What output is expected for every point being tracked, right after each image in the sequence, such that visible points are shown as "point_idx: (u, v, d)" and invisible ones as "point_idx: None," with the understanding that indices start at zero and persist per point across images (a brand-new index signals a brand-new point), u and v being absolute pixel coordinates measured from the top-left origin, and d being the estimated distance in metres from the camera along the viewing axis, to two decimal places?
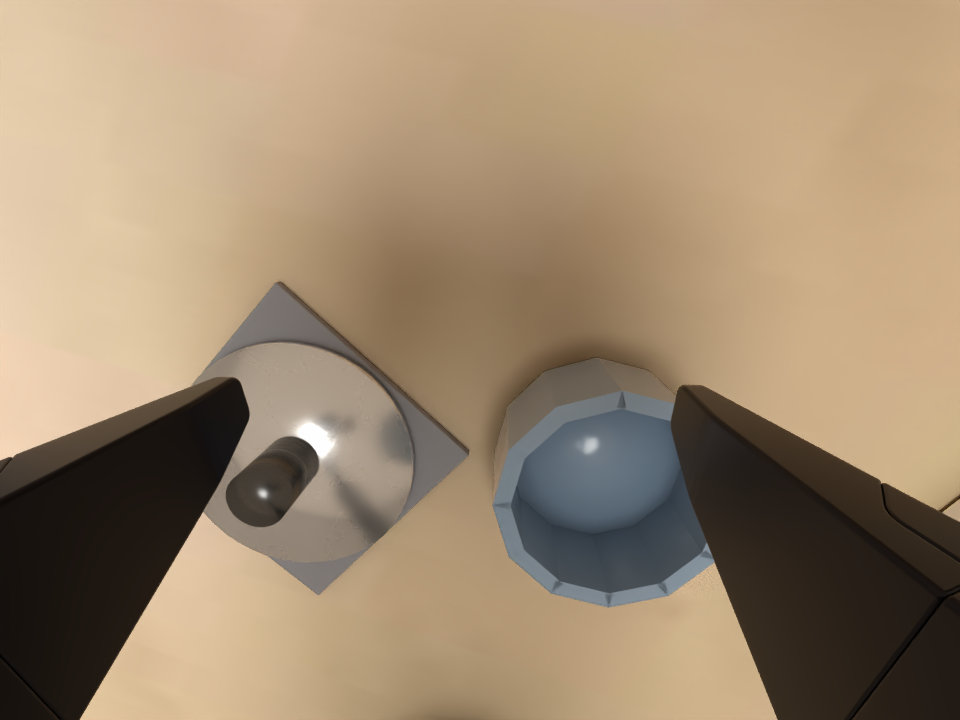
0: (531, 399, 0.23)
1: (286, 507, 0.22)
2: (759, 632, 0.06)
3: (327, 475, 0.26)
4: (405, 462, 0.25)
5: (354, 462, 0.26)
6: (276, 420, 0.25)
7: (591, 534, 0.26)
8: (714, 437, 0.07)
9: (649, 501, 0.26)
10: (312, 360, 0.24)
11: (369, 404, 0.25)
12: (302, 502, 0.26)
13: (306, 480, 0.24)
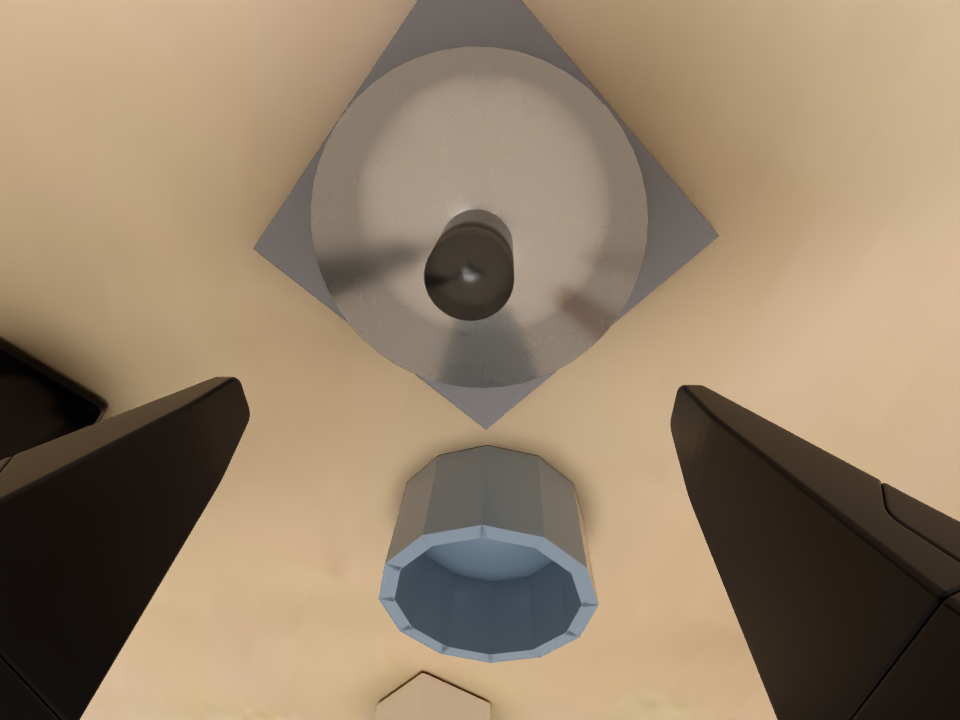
0: (562, 502, 0.24)
1: (460, 319, 0.16)
2: (759, 632, 0.06)
3: None
4: (480, 381, 0.22)
5: (478, 325, 0.20)
6: (537, 229, 0.18)
7: None
8: (714, 437, 0.07)
9: (451, 563, 0.29)
10: (617, 286, 0.19)
11: (555, 347, 0.21)
12: (412, 254, 0.19)
13: None
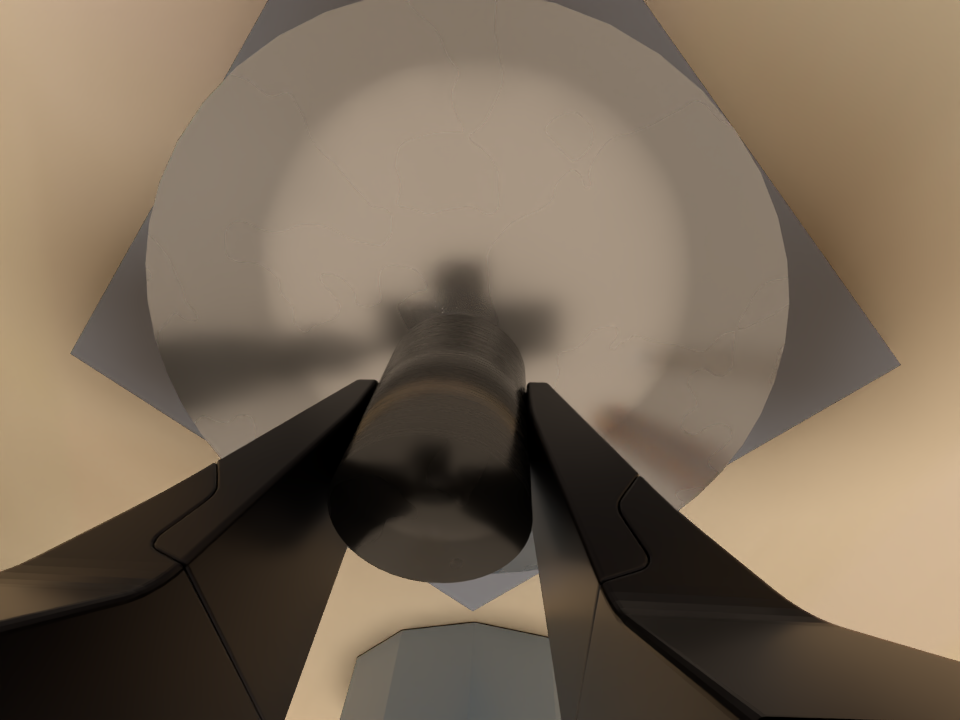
0: None
1: (412, 578, 0.07)
2: (550, 622, 0.07)
3: None
4: None
5: None
6: (572, 351, 0.10)
7: None
8: (531, 433, 0.07)
9: None
10: (710, 445, 0.11)
11: None
12: (341, 382, 0.10)
13: None
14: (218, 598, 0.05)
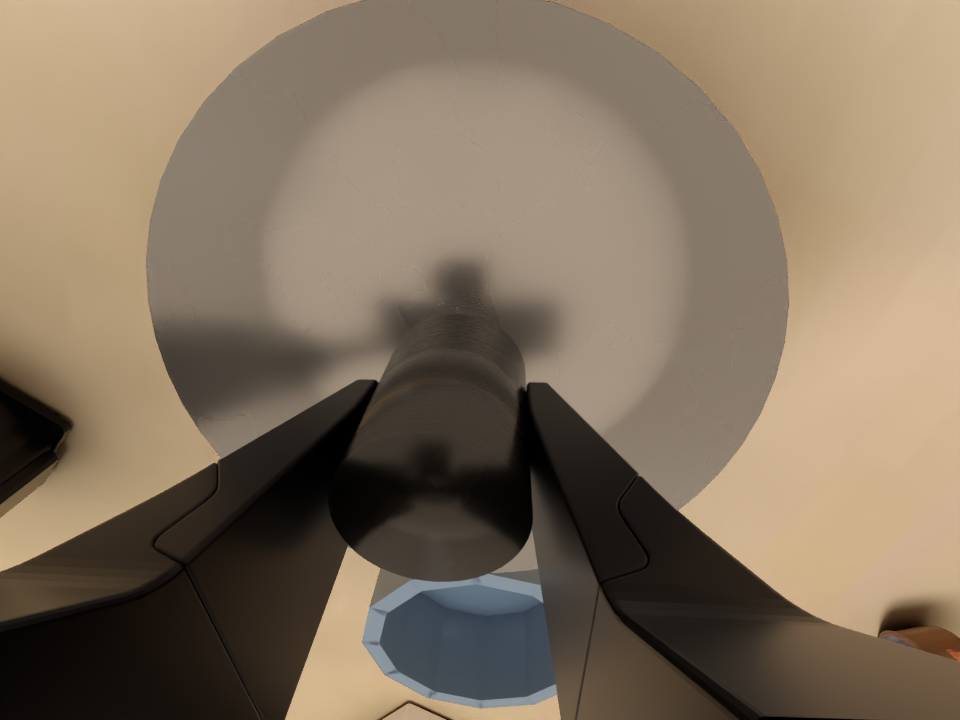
0: None
1: (412, 577, 0.07)
2: (550, 622, 0.07)
3: None
4: None
5: None
6: (572, 351, 0.10)
7: None
8: (531, 433, 0.07)
9: (441, 597, 0.27)
10: (710, 445, 0.11)
11: None
12: (342, 382, 0.10)
13: None
14: (218, 597, 0.05)
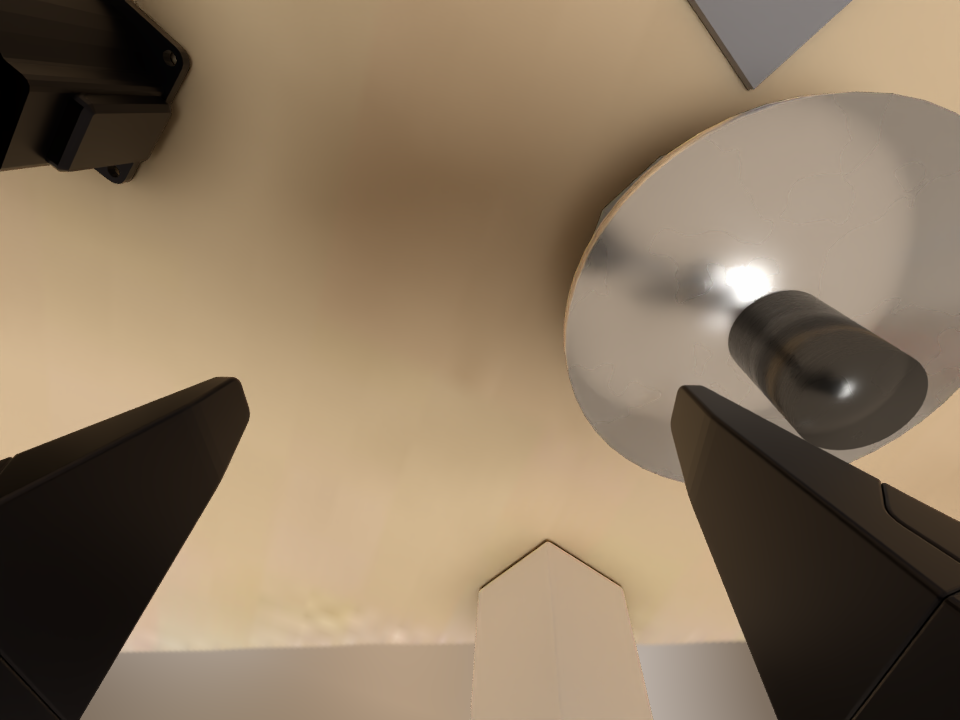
0: None
1: (821, 447, 0.12)
2: (759, 632, 0.06)
3: (733, 382, 0.16)
4: None
5: None
6: (863, 315, 0.14)
7: None
8: (714, 437, 0.07)
9: None
10: (941, 383, 0.15)
11: None
12: (691, 339, 0.15)
13: None
14: None
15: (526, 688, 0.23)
